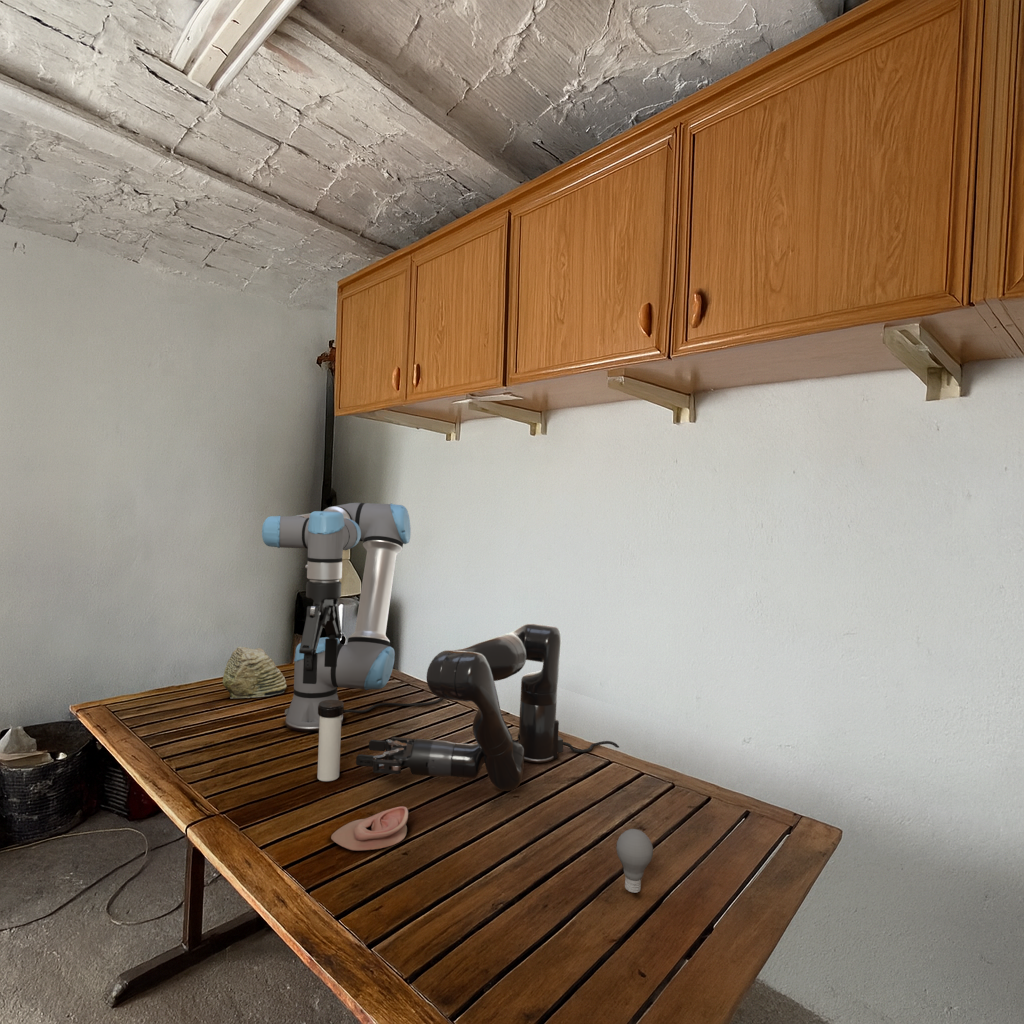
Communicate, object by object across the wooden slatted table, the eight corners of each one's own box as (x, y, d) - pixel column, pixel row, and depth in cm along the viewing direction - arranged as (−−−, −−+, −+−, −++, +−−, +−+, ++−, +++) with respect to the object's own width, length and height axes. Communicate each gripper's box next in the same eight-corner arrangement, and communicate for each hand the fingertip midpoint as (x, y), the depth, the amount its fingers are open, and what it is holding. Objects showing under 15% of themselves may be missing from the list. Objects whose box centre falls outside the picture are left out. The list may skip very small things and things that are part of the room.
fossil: (218, 695, 195) (220, 647, 195) (278, 685, 208) (279, 640, 207) (228, 703, 189) (230, 653, 188) (289, 692, 201) (290, 645, 201)
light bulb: (610, 879, 108) (613, 822, 108) (644, 879, 109) (647, 822, 109) (619, 902, 102) (622, 840, 102) (655, 901, 103) (658, 840, 103)
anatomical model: (323, 824, 115) (352, 795, 126) (322, 845, 115) (351, 815, 126) (392, 835, 112) (415, 805, 123) (391, 857, 112) (414, 825, 123)
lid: (344, 709, 146) (345, 699, 146) (342, 717, 141) (342, 707, 141) (319, 709, 146) (320, 699, 145) (316, 717, 140) (316, 707, 140)
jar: (340, 771, 146) (343, 701, 146) (337, 781, 141) (340, 708, 141) (319, 772, 145) (321, 702, 145) (315, 781, 141) (318, 708, 140)
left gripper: (326, 573, 154) (323, 659, 155) (285, 587, 129) (281, 690, 130) (356, 574, 154) (353, 661, 154) (321, 588, 129) (317, 692, 129)
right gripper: (441, 729, 148) (373, 724, 149) (427, 754, 134) (352, 747, 135) (440, 761, 148) (372, 755, 149) (425, 789, 134) (351, 782, 135)
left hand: (320, 674), depth 142 cm, fingers open, 13 cm apart
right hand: (363, 752), depth 142 cm, fingers open, 8 cm apart
